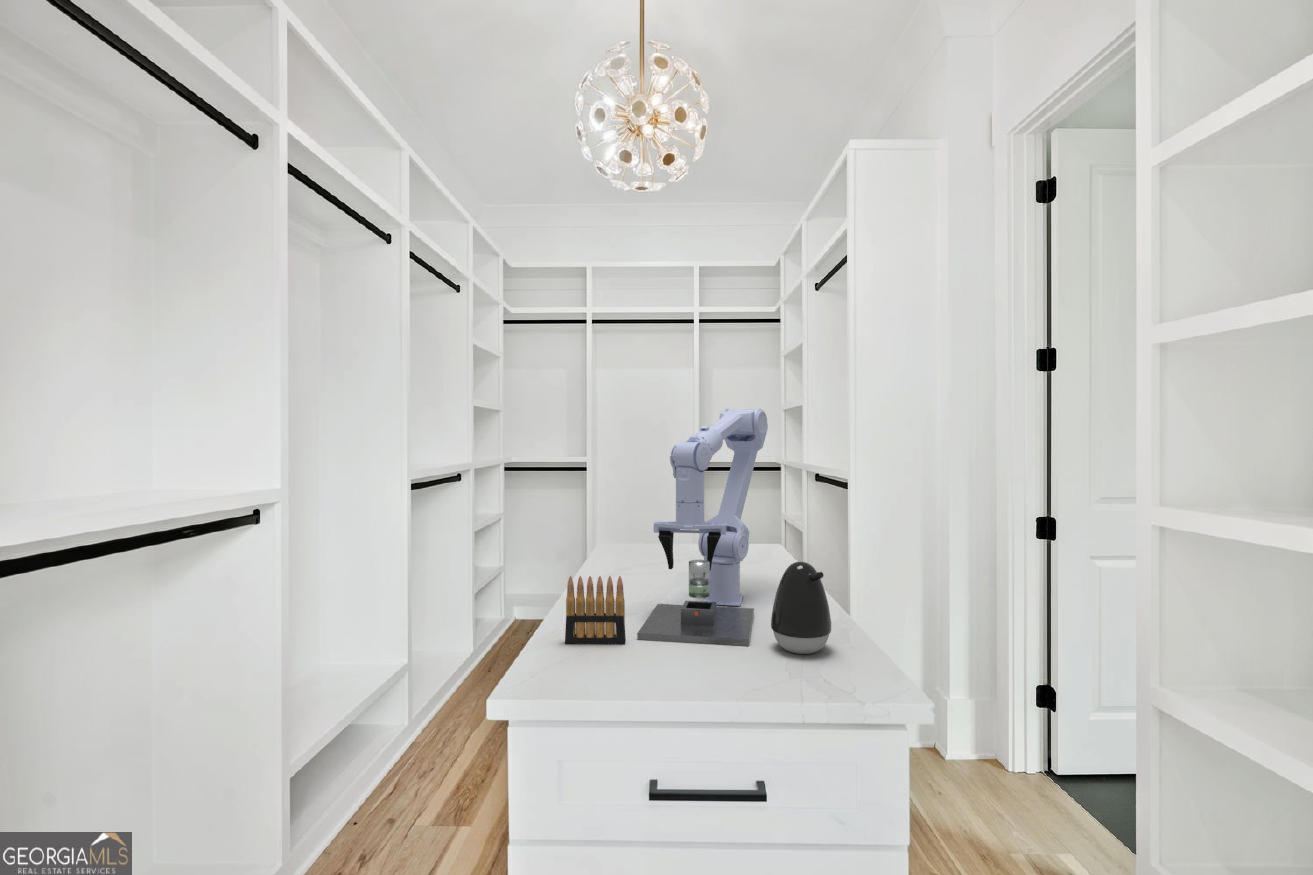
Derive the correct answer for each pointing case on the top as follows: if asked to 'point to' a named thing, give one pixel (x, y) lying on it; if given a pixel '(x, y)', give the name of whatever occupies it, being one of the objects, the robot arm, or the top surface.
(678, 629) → the post base
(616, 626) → the ammunition clip
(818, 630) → the pump dispenser
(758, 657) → the top surface
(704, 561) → the grey cylindrical jar
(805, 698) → the top surface
